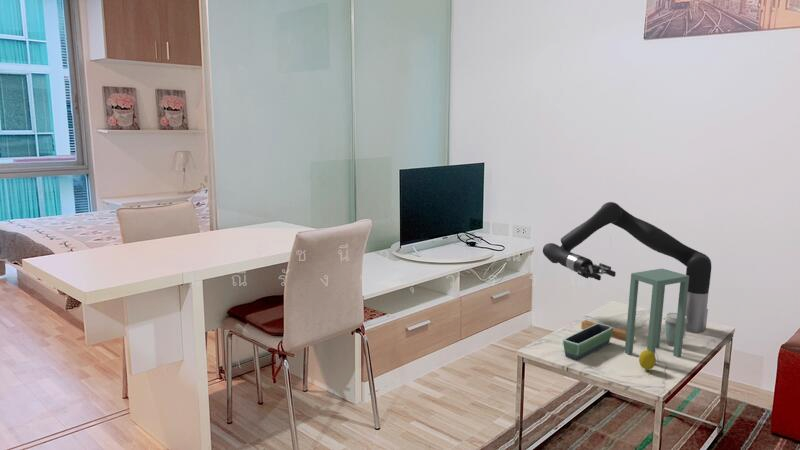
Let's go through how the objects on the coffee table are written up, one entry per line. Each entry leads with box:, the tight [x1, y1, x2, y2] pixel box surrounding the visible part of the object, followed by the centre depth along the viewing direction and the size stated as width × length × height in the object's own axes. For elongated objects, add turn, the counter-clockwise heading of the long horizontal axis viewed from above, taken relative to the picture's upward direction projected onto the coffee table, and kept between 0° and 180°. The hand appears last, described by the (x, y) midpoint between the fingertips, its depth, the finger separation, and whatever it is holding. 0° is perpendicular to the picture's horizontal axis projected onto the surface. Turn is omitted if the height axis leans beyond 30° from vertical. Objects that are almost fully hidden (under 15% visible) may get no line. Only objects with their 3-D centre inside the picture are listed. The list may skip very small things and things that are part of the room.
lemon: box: [638, 348, 657, 371], centre depth 211 cm, size 6×6×8 cm
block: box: [581, 319, 627, 342], centre depth 247 cm, size 4×20×4 cm, turn 44°
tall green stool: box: [624, 268, 689, 358], centre depth 223 cm, size 17×12×32 cm
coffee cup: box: [664, 312, 688, 347], centre depth 236 cm, size 8×9×12 cm
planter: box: [562, 322, 614, 361], centre depth 229 cm, size 28×7×7 cm, turn 134°
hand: (607, 276), depth 244 cm, fingers open, 8 cm apart
